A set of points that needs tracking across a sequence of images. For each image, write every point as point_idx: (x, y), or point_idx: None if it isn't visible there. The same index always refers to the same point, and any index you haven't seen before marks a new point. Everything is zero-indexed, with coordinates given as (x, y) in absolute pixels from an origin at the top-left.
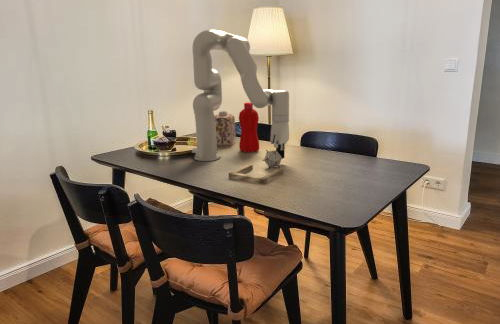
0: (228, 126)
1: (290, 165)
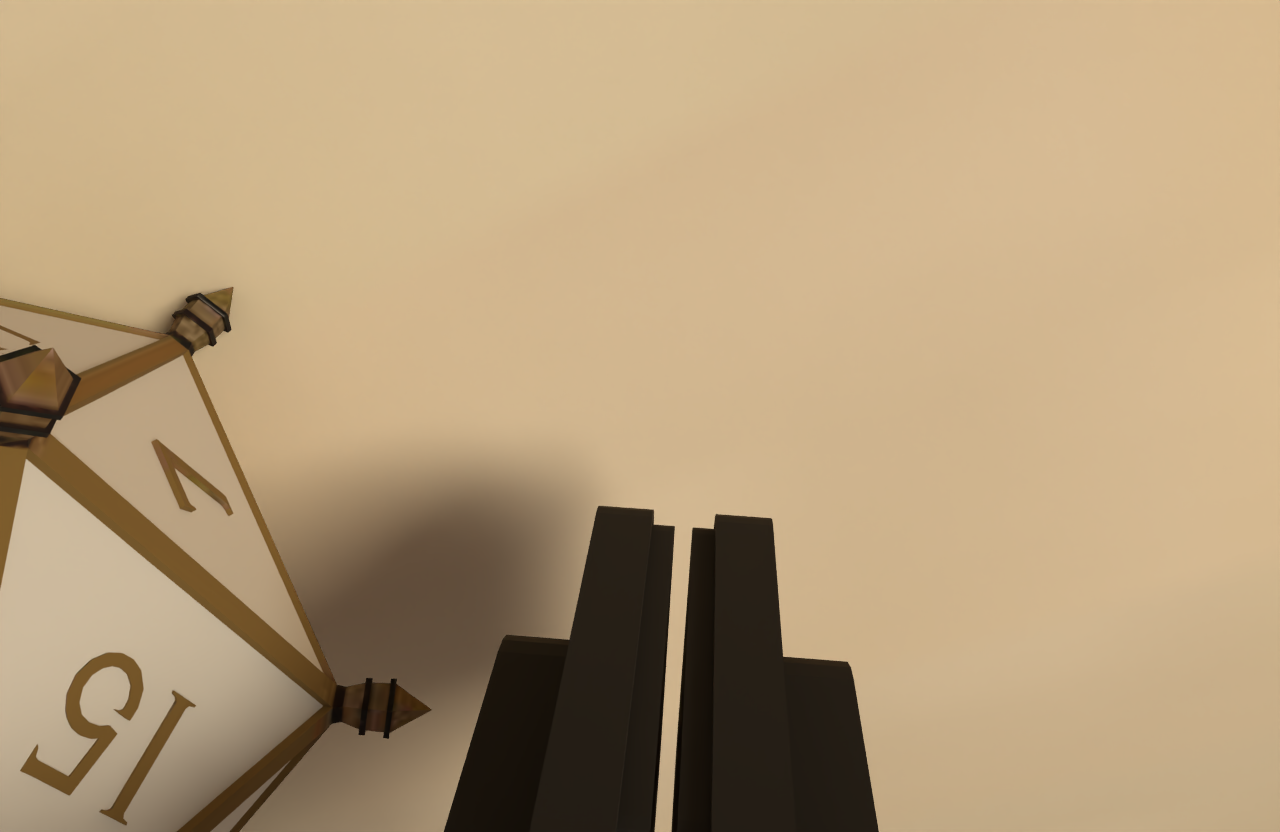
0: None
1: None
